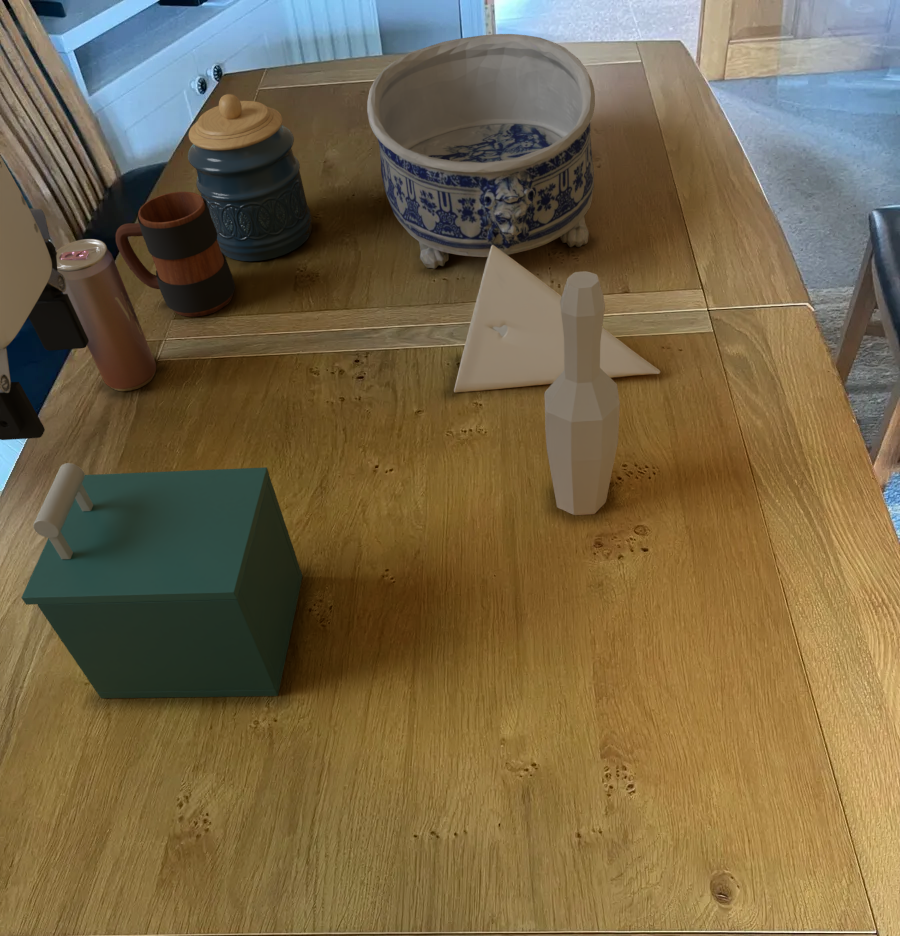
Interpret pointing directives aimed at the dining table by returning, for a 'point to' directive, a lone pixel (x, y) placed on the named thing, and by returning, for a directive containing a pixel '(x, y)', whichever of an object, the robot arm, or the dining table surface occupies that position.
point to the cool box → (194, 630)
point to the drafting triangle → (525, 334)
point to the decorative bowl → (486, 144)
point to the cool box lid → (145, 535)
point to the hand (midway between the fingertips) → (46, 389)
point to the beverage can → (106, 314)
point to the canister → (250, 180)
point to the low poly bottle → (582, 404)
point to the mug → (180, 254)
